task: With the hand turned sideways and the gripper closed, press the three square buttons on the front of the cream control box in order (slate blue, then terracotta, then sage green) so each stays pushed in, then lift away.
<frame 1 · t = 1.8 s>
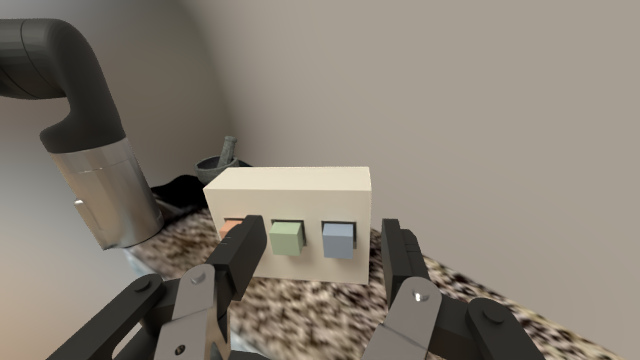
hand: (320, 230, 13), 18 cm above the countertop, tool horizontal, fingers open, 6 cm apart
blue button: (338, 241, 26), point 8 cm above the countertop, slide at 0.0 cm
control box: (301, 262, 34), on the countertop
terracotta button: (238, 236, 28), point 8 cm above the countertop, slide at 0.0 cm
mortar and pestle: (226, 187, 58), on the countertop
sage button: (287, 238, 27), point 8 cm above the countertop, slide at 0.0 cm
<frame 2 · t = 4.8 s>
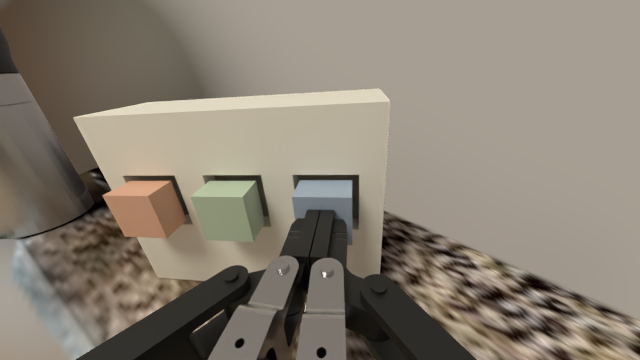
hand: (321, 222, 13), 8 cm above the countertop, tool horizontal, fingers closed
blue button: (325, 211, 14), point 8 cm above the countertop, slide at 0.1 cm, touching gripper
control box: (271, 258, 22), on the countertop
terracotta button: (147, 208, 16), point 8 cm above the countertop, slide at 0.0 cm
sage button: (230, 210, 15), point 8 cm above the countertop, slide at 0.0 cm
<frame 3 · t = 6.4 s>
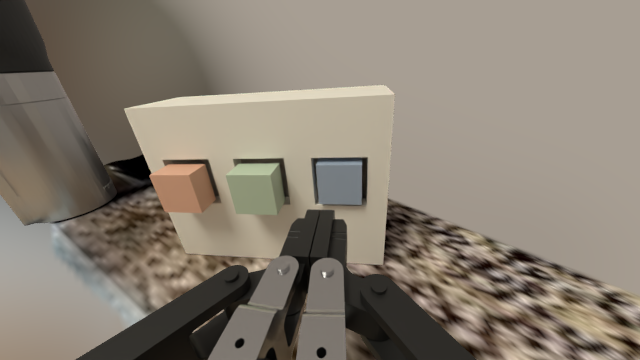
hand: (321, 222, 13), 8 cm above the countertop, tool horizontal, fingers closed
blue button: (340, 179, 18), point 8 cm above the countertop, slide at 1.6 cm
control box: (286, 237, 24), on the countertop
terracotta button: (184, 188, 18), point 8 cm above the countertop, slide at 0.0 cm
sage button: (257, 188, 17), point 8 cm above the countertop, slide at 0.0 cm
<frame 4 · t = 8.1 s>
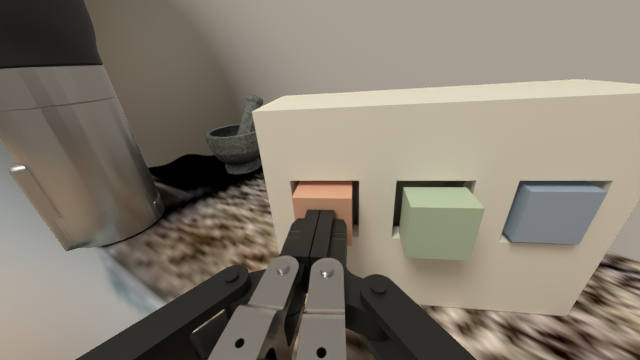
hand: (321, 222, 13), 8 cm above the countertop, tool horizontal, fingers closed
blue button: (542, 208, 13), point 8 cm above the countertop, slide at 1.6 cm
control box: (406, 271, 20), on the countertop
terracotta button: (325, 212, 14), point 8 cm above the countertop, slide at 0.7 cm, touching gripper
mortar and pestle: (247, 166, 44), on the countertop
sage button: (435, 222, 12), point 8 cm above the countertop, slide at 0.0 cm
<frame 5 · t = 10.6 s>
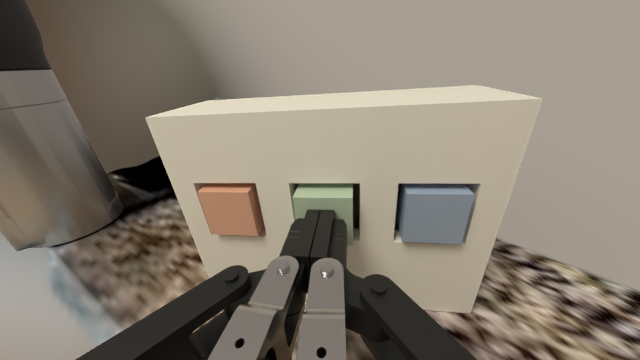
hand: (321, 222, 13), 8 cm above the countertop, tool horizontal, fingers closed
blue button: (430, 209, 14), point 8 cm above the countertop, slide at 1.6 cm
control box: (335, 270, 20), on the countertop
terracotta button: (235, 205, 15), point 8 cm above the countertop, slide at 1.6 cm
sage button: (325, 212, 14), point 8 cm above the countertop, slide at 1.1 cm, touching gripper
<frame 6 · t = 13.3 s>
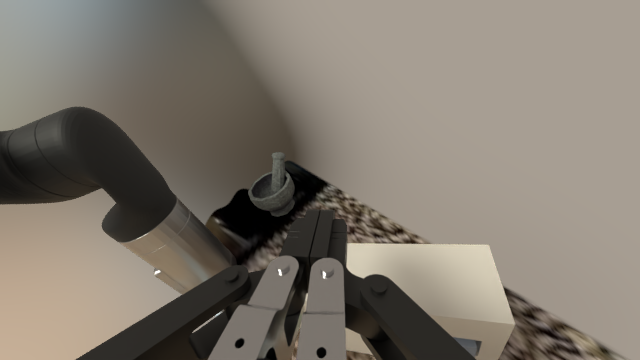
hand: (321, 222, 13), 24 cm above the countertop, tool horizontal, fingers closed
blue button: (451, 337, 21), point 8 cm above the countertop, slide at 1.6 cm
control box: (392, 329, 29), on the countertop
mortar and pestle: (284, 204, 55), on the countertop
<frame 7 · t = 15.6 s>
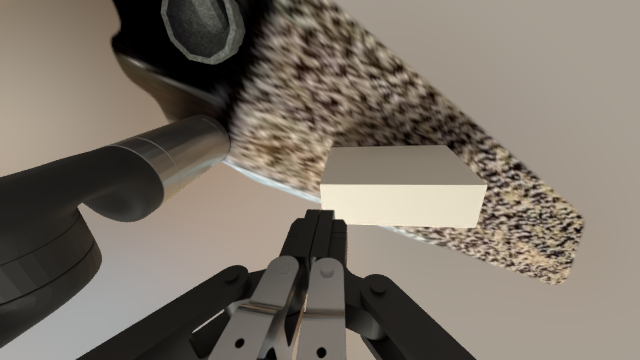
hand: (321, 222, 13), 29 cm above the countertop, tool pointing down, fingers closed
control box: (385, 162, 41), on the countertop
mortar and pestle: (227, 22, 35), on the countertop
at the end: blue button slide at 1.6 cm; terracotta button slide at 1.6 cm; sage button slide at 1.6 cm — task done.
